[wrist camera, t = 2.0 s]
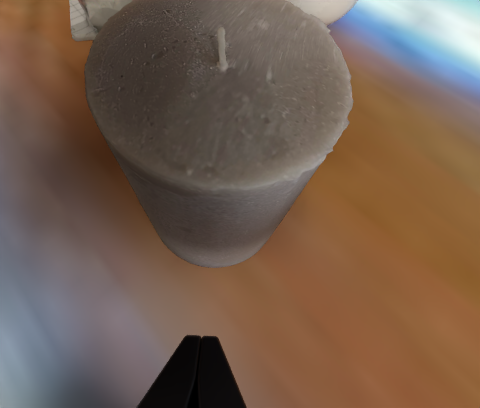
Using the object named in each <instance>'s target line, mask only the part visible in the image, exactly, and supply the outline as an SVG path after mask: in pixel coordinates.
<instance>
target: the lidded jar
mask: <svg viewBox="0 0 480 408" xmlns="http://www.w3.org/2000/svg"><path fill="white" fill-rule="evenodd" d="M286 1H289V2H291V3H292V4H293V5H294V6H297V7H299V8H300V9H301V10H302V11H303V12H304V13H307V14H309V15H310V14H312V15H314V16H315V17H317V18H319V19H320V20H321V21H322V22H323V23H325V25H326V26H327V25H329V24H331V23H333V22H335V21H337V20H339V19H340V18H342V17H343V16H344V15H345V14H347V13H348V12H349V11H350V10H351V9H352V8H353V7H354V5H355V4H356V3H357V1H358V0H286Z"/></svg>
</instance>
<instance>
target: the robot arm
mask: <svg viewBox="0 0 480 408" xmlns="http://www.w3.org/2000/svg"><path fill="white" fill-rule="evenodd" d="M137 408H247V407H246V405H245V402H244V400H243V398H242V395H241V393H240V390H239V388H238V385H237V383H236V380H235V378H234V376H233V373H232V371H231V368H230V366H229V363H228V361H227V358H226V356H225V353H224V351H223V349H222V346H221V344H220V341H219V339H218V337H216V336H203V337H202V339H201V336H197V335H187V336H185V337H184V338H183V340H182V341H181V343H180V344H179V346H178V347H177V349H176V350H175V352H174V353H173V355H172V356H171V358H170V359H169V361H168V362H167V364H166V365H165V367H164V368H163V369H162V371H161V372H160V374H159V375H158V377H157V378H156V380H155V381H154V383H153V384H152V386H151V387H150V389H149V390H148V392H147V393H146V395H145V396H144V398H143V399H142V400H141V402H140V403H139V405H138V406H137Z"/></svg>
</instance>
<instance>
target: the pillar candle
mask: <svg viewBox="0 0 480 408" xmlns="http://www.w3.org/2000/svg"><path fill="white" fill-rule="evenodd" d="M330 31H331V30H329V29H328V28H327V27H326V25H325V23H323V22H322V21H321V20H320V19H319V18H317V17H315V16H314V15H312V14H310V15H309V14H307V13H304V12H303V11H302V10H301V9H300V8H299V7H297V6H294V5H293V4H292V3H291V2H289V1H286V0H132V2H130V3H128V4H127V5H125V6H124V7H123V8H122V9H121V10H120V11H118V12H117V13H116V14H114V15H113V16H111V17H110V18H109V19H108V21H107V22H106V23H105V24H104V25H103V27H102V29H101V30H100V31H99V33H98V34H97V35H96V37H95V39H94V40H93V44H92V46H91V48H90V52H89V56H88V59H87V62H86V64H85V71H84V73H85V86H86V88H85V92H86V98H87V102H88V106H89V108H90V111H91V113H92V115H93V117H94V119H95V121H96V124H97V126H98V127H99V129H100V131H101V133H102V135H103V136H104V138H105V140H106V142H107V144H108V146H109V148H110V149H111V151H112V153H113V154H114V156H115V158H116V160H117V161H118V163H119V165H120V167H121V168H122V170H123V172H124V174H125V175H126V177H127V179H128V181H129V183H130V185H131V186H132V188H133V190H134V192H135V193H136V195H137V197H138V200H139V202H140V204H141V205H142V207H143V209H144V211H145V212H146V214H147V216H148V217H149V219H150V221H151V223H152V225H153V226H154V228H155V230H156V231H157V233H158V235H159V237H160V238H161V240H162V241H163V243H164V244H165V245H166V246H167V247H168V248H169V249H170V250H171V251H172V252H173V253H174V254H176V255H177V256H178V257H180V258H182V259H184V260H186V261H188V262H190V263H192V264H195V265H198V266H202V267H213V268H217V267H226V266H231V265H235V264H237V263H240V262H243V261H244V260H246V259H248V258H250V257H251V256H253V255H254V254H255V253H256V252H257V251H258V250H259V249H260V248H261V247H262V246H263V245H264V244H265V243H266V242H267V240H268V239H269V237H270V236H271V235H272V233H273V232H274V230H275V229H276V228H277V226H278V225H279V224H280V222H281V221H282V219H283V218H284V216H285V215H286V214H287V212H288V211H289V209H290V207H291V206H292V204H293V203H294V201H295V200H296V198H297V197H298V196H299V194H300V193H301V191H302V190H303V188H304V187H305V185H306V184H307V183H308V181H309V180H310V178H311V177H312V175H313V174H314V172H315V171H316V170H317V168H318V167H319V165H320V164H321V163H322V162H323V161H324V159H325V158H326V155H327V154H328V153H330V152H332V151H333V149H332V148H333V146H334V145H335V144H336V142H337V140H338V138H339V137H340V136H341V134H342V132H343V131H344V130H345V129H346V128H347V125H348V124H349V123H350V122H349V121H348V119H347V116H348V114H349V112H350V111H351V109H352V105H353V99H352V88H351V84H350V79H351V75H350V73H349V70H348V67H347V65H346V62H345V60H344V58H343V55H342V53H341V50H340V49H339V48H338V46H337V45H336V43H335V42H334V40H333V38H332V37H331V36H330V34H329V32H330Z"/></svg>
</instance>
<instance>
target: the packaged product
mask: <svg viewBox="0 0 480 408" xmlns="http://www.w3.org/2000/svg"><path fill="white" fill-rule="evenodd" d="M130 2H132V0H69V3H70V20H71V33H72V38H73V39H74V40H75V41H86V40H94V39H95V37H96V35H97V34H98V33H99V31H100V30H101V29H102V27H103V25H104V24H105V23H106V22H107V21H108V19H109V18H110V17H111V16H113V15H114V14H116V13H117V12H118V11H120V10H121V9H122V8H123V7H124V6H125V5H127V4H128V3H130Z"/></svg>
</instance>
